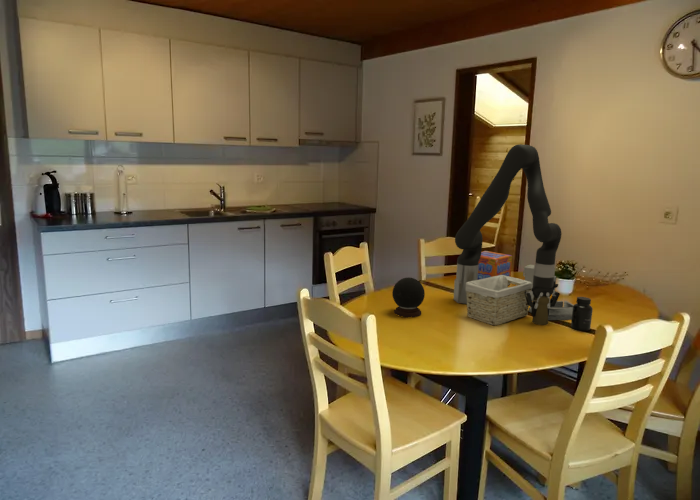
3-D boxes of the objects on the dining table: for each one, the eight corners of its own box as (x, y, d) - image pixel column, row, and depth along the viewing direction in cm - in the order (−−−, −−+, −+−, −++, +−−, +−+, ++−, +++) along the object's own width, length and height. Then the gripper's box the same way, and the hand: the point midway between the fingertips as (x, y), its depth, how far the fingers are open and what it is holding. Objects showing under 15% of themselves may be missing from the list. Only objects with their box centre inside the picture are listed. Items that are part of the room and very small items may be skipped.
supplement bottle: (589, 332, 186) (592, 301, 184) (569, 329, 190) (572, 298, 188) (591, 327, 192) (594, 297, 190) (572, 324, 196) (575, 294, 193)
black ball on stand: (398, 306, 215) (399, 272, 212) (427, 311, 209) (429, 276, 206) (386, 315, 203) (388, 279, 200) (417, 320, 198) (419, 283, 195)
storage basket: (494, 328, 190) (496, 290, 188) (461, 316, 203) (463, 281, 200) (531, 316, 204) (534, 281, 201) (498, 306, 217) (501, 273, 214)
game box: (510, 285, 254) (512, 255, 251) (493, 290, 243) (495, 259, 240) (483, 279, 265) (485, 250, 262) (466, 284, 255) (468, 254, 252)
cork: (531, 323, 195) (533, 296, 193) (532, 319, 201) (534, 292, 199) (548, 326, 193) (550, 298, 191) (548, 321, 199) (551, 294, 196)
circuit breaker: (553, 304, 221) (556, 271, 218) (521, 298, 230) (523, 266, 227) (557, 300, 227) (561, 268, 224) (526, 295, 236) (529, 264, 233)
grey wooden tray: (542, 320, 200) (543, 309, 199) (528, 311, 211) (529, 300, 210) (580, 319, 201) (581, 308, 201) (564, 310, 213) (565, 300, 212)
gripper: (531, 277, 189) (527, 320, 193) (566, 276, 191) (561, 319, 194) (522, 272, 197) (518, 314, 200) (556, 272, 198) (552, 313, 201)
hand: (539, 316), depth 197 cm, fingers closed on cork, 4 cm apart
